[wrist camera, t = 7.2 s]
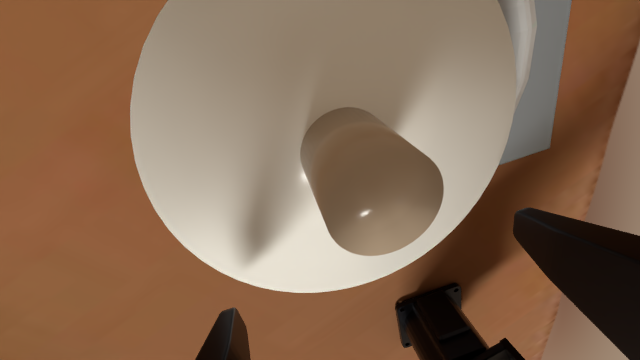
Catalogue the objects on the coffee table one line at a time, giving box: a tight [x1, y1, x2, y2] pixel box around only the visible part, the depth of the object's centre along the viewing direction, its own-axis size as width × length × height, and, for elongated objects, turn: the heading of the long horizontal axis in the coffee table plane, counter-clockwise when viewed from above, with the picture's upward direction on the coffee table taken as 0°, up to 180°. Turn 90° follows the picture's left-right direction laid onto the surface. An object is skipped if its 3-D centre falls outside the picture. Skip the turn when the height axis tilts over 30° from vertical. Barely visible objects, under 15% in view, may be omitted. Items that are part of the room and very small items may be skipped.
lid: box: [130, 0, 516, 293], centre depth 8 cm, size 11×11×4 cm
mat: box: [499, 0, 572, 165], centre depth 21 cm, size 12×12×1 cm
